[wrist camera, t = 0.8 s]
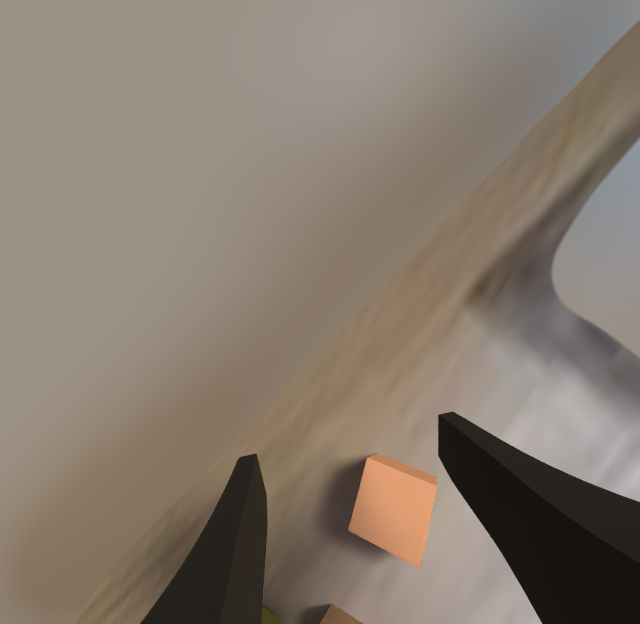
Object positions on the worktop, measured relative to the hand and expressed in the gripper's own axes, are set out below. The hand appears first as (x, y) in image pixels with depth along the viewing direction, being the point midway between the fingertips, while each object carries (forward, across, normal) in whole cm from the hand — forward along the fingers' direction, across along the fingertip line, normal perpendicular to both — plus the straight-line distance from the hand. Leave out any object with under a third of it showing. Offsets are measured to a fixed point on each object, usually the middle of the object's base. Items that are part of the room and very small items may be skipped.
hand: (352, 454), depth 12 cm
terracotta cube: (+7, -4, +12) cm, 15 cm away
